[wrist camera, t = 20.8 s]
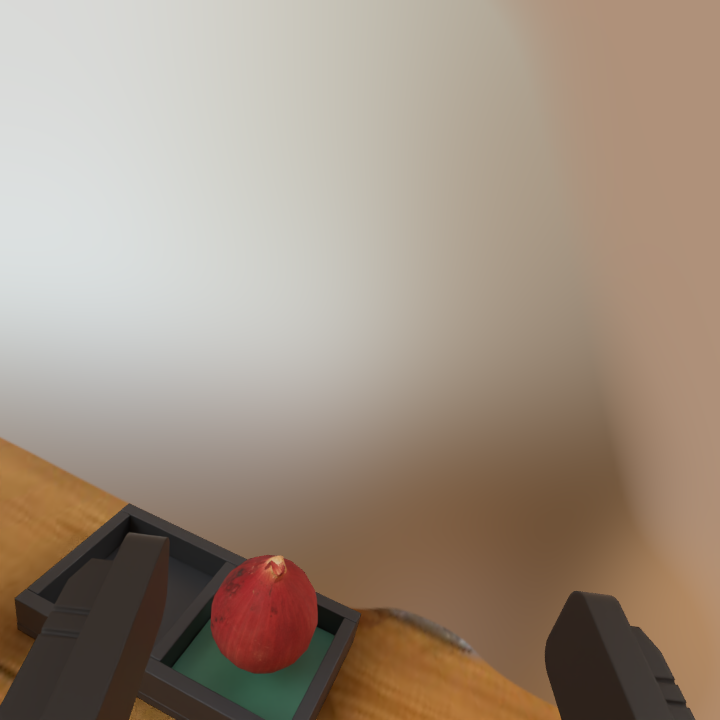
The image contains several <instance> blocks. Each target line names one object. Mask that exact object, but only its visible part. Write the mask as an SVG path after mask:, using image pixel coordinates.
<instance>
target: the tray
mask: <svg viewBox="0 0 720 720" xmlns="http://www.w3.org/2000/svg"><path fill="white" fill-rule="evenodd" d="M129 532H130V533H138V534H146V535H154V536H162V537H168V538H169V542H170V544H169V565H168V586H167V597H166V604H165V609H164V613H163V617H162V621H161V624H160V628H159V631H158V634H157V637H156V640H155V643H154V646H153V649H152V652H151V655H150V658H149V661H148V663H147V666H146V669H145V672H144V675H143V678H142V681H141V684H140V687H139V690H138V693H137V696H136V697H138V698H139V699H141V700H143V701H145V702H146V703H148V704H150V705H152V706H153V707H155V708H157V709H159V710H160V711H162V712H164V713H166V714H167V715H169V716H171V717H173V718H174V719H176V720H316V718H317V716H318V714H319V712H320V710H321V707H322V705H323V703H324V701H325V699H326V697H327V695H328V693H329V691H330V689H331V687H332V684H333V682H334V680H335V678H336V676H337V674H338V672H339V670H340V668H341V666H342V663H343V661H344V659H345V657H346V655H347V653H348V651H349V649H350V647H351V645H352V643H353V640H354V637H355V633H356V630H357V626H358V623H359V619H360V616H361V613H359V612H357V611H355V610H353V609H350V608H348V607H346V606H344V605H342V604H340V603H338V602H335V601H334V600H332V599H329V598H327V597H325V596H323V595H321V594H319V593H317V592H315V593H316V597H317V610H318V624H317V626H316V629H315V631H314V634H313V637H312V639H311V642H310V644H309V647H308V649H307V650H306V651H305V652H304V653H303V654H302V655H301V656H300V657H299V658H298V659H297V660H296V662H295V663H293V664H292V665H290V666H288V667H286V668H284V669H281V670H279V671H276V672H274V673H266V674H254V673H251V672H248V671H245V670H243V669H240V668H238V667H237V666H235V665H234V664H233V663H232V662H231V661H230V660H229V659H227V658H226V657H225V656H224V655H223V654H222V653H221V652H220V650H219V648H218V646H217V644H216V642H215V640H214V638H213V636H212V632H211V627H210V626H211V607H212V602H213V599H214V596H215V594H216V592H217V591H218V589H219V588H220V586H221V584H222V583H223V581H224V580H225V578H226V577H227V575H228V574H229V573H230V572H231V571H232V570H233V569H235V568H236V567H238V566H239V565H241V564H242V563H243V562H245V561H246V560H247V559H245V558H243V557H241V556H238V555H237V554H234V553H233V552H230V551H228V550H226V549H224V548H222V547H220V546H218V545H216V544H214V543H212V542H209V541H207V540H205V539H203V538H201V537H199V536H197V535H195V534H193V533H190V532H188V531H186V530H184V529H182V528H180V527H178V526H176V525H174V524H172V523H169V522H167V521H165V520H163V519H161V518H159V517H157V516H155V515H153V514H150V513H148V512H146V511H144V510H142V509H140V508H138V507H136V506H134V505H132V504H128V505H126V506H125V507H124V508H123V509H122V510H121V511H120V512H118V513H117V514H116V515H115V516H114V517H112V518H111V519H110V520H109V521H108V522H106V523H105V524H104V525H103V526H101V527H100V528H99V529H98V530H97V531H95V532H94V533H93V534H92V535H91V536H89V537H88V538H87V539H86V540H85V541H83V542H82V543H81V544H80V545H79V546H77V547H76V548H75V549H74V550H73V551H71V552H70V553H69V554H68V555H67V556H65V557H64V558H63V559H62V560H60V561H59V562H58V563H57V564H56V565H54V566H53V567H52V568H51V569H50V570H48V571H47V572H46V573H45V574H44V575H42V576H41V577H40V578H39V579H38V580H36V581H35V582H34V583H33V584H32V585H30V586H29V587H28V588H27V589H25V590H24V591H23V592H22V593H21V594H19V595H18V596H17V597H16V598H15V606H16V615H17V626H18V629H19V630H20V631H22V632H24V633H26V634H27V635H29V636H31V637H33V638H34V639H36V638H37V636H38V635H39V634H40V633H41V631H42V627H43V625H44V623H45V622H46V620H47V618H48V616H49V614H50V612H52V611H53V608H54V605H55V603H56V601H57V599H58V597H59V595H60V594H61V592H62V590H63V588H64V586H65V584H66V582H67V580H68V579H69V578H70V577H71V576H73V575H74V574H75V573H76V572H77V571H78V570H79V569H80V568H81V567H83V566H84V565H85V564H86V563H87V562H88V561H89V560H90V559H92V558H95V559H103V560H111V561H114V559H115V557H116V555H117V553H118V551H119V549H120V546H121V544H122V542H123V540H124V538H125V537H126V535H127V534H128V533H129Z"/></svg>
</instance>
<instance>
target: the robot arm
mask: <svg viewBox="0 0 720 720" xmlns="http://www.w3.org/2000/svg"><path fill="white" fill-rule="evenodd" d="M169 544H170V542H169V538H168V537H162V536H154V535H146V534H138V533H130V532H129V533H128V534H127V535H126V537H125V538H124V540H123V542H122V544H121V546H120V549H119V551H118V553H117V555H116V557H115V559H114V561H111V560H103V559H95V558H92V559H90V560H89V561H88V562H87V563H86V564H85V565H84V566H83V567H81V568H80V569H79V570H78V571H77V572H76V573H75V574H74V575H73V576H71V577H70V578H69V579H68V580H67V582H66V584H65V586H64V588H63V590H62V592H61V594H60V595H59V597H58V599H57V601H56V603H55V605H54V608H53V611H52V612H50V614H49V616H48V618H47V620H46V622H45V623H44V625H43V627H42V631H41V633H40V634H39V635H38V636H37V638H36V640H35V642H34V644H33V646H32V648H31V649H30V651H29V653H28V655H27V657H26V659H25V661H24V663H23V664H22V666H21V668H20V670H19V672H18V674H17V676H16V677H15V679H14V681H13V683H12V685H11V687H10V689H9V690H8V692H7V694H6V696H5V698H4V700H3V702H2V704H1V705H0V720H129V717H130V714H131V711H132V708H133V705H134V702H135V699H136V696H137V693H138V690H139V687H140V684H141V681H142V678H143V675H144V672H145V669H146V666H147V663H148V661H149V658H150V655H151V652H152V649H153V646H154V643H155V640H156V637H157V634H158V631H159V628H160V624H161V621H162V617H163V613H164V609H165V604H166V597H167V586H168V565H169ZM545 663H546V670H547V674H548V677H549V680H550V683H551V686H552V690H553V693H554V696H555V700H556V703H557V706H558V709H559V713H560V716H561V719H562V720H695V718H694V716H693V714H692V712H691V710H690V708H687V707H686V700H685V699H684V697H683V695H682V693H681V691H680V689H679V687H678V685H675V683H674V680H675V679H674V677H673V675H672V673H671V671H670V669H669V667H668V666H667V663H666V662H665V659H664V657H663V655H662V653H661V652H660V650H659V649H658V648H657V647H656V646H655V645H654V644H653V642H652V641H651V640H650V639H649V638H648V637H647V636H646V634H645V633H644V632H643V631H642V630H641V629H640V628H639V627H634V626H630V624H629V622H628V620H627V618H626V616H625V614H624V612H623V610H622V608H621V605H620V604H619V602H618V601H617V599H616V598H615V597H613V596H610V595H603V594H596V593H588V592H580V591H574V592H573V593H571V594H570V596H569V598H568V599H567V602H566V603H565V605H564V608H563V609H562V611H561V613H560V615H559V617H558V619H557V621H556V623H555V625H554V627H553V629H552V631H551V633H550V635H549V637H548V639H547V642H546V648H545Z"/></svg>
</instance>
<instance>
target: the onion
mask: <svg viewBox="0 0 720 720" xmlns="http://www.w3.org/2000/svg"><path fill="white" fill-rule="evenodd" d="M317 624H318V610H317V597H316V593H315V590H314V588H313V586H312V585H311V583H310V581H309V579H308V578H307V576H306V574H305V572H304V571H303V570H302V569H300V568H299V567H298V566H296V565H295V564H294V563H293V562H292V561H290V560H287V559H284V558H283V556H272V555H264V556H259V557H254V558H250V559H248V560H246V561H245V562H243V563H242V564H241V565H239V566H238V567H236V568H235V569H233V570H232V571H231V572H230V573H229V574H228V575H227V577H226V578H225V580H224V581H223V583H222V584H221V586H220V588H219V589H218V591H217V592H216V594H215V596H214V599H213V602H212V607H211V626H210V627H211V632H212V636H213V638H214V640H215V642H216V644H217V646H218V648H219V650H220V652H221V653H222V654H223V655H224V656H225V657H226V658H227V659H229V660H230V661H231V662H232V663H233V664H234V665H235V666H237V667H238V668H240V669H243V670H245V671H248V672H251V673H254V674H266V673H274V672H276V671H279V670H281V669H284V668H286V667H288V666H290V665H292V664H293V663H295V662H296V660H297V659H298V658H299V657H300V656H301V655H302V654H303V653H304V652H305V651H306V650H307V649H308V647H309V644H310V642H311V639H312V637H313V634H314V631H315V629H316V626H317Z"/></svg>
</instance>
